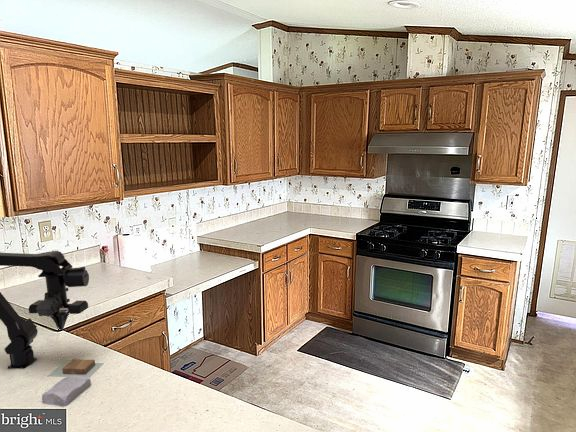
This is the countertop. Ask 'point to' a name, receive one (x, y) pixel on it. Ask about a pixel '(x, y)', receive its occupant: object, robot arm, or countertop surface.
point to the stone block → (66, 390)
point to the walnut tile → (78, 366)
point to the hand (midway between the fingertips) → (61, 329)
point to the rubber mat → (59, 373)
